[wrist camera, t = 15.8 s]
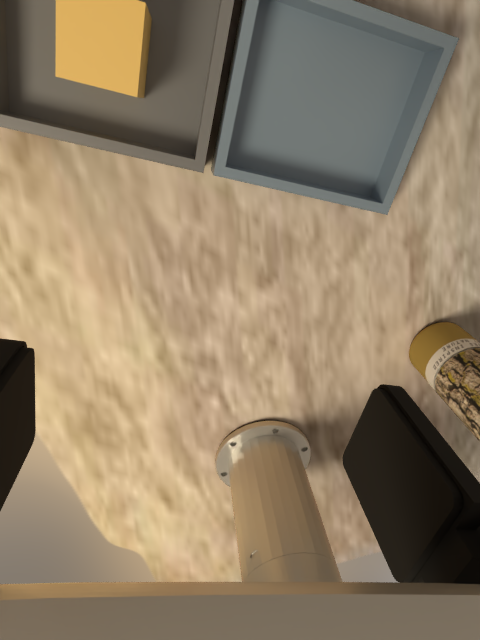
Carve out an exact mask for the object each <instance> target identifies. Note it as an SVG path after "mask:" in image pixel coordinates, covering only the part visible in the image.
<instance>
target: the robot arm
mask: <svg viewBox="0 0 480 640" xmlns="http://www.w3.org/2000/svg"><path fill="white" fill-rule="evenodd" d="M34 437H35V356H34V349H33V348H27V345H26V342H24V341H16V340H8V339H0V511H1V508H2V506H3V504H4V502H5V500H6V498H7V496H8V494H9V492H10V490H11V488H12V486H13V484H14V482H15V479H16V477H17V475H18V473H19V471H20V469H21V467H22V465H23V463H24V461H25V459H26V457H27V454H28V452H29V450H30V448H31V446H32V444H33V441H34ZM310 458H311V449H310V445H309V442H308V440H307V438H306V436H305V435H304V433H303V432H302V431H301V430H299V429H298V428H297V427H295V426H293V425H291V424H288V423H285V422H280V421H261V422H255V423H252V424H248V425H245V426H243V427H241V428H239V429H237V430H236V431H234V432H233V433H231V434H230V435H229V436H228V437H227V438H226V439H224V440H223V442H222V443H221V445H220V446H219V448H218V450H217V453H216V459H215V461H216V470H217V474H218V475H219V477H220V479H221V480H222V481H223V482H224V483H225V484H226V485H228V486H229V487H231V495H232V503H233V512H234V521H235V528H236V536H237V544H238V553H239V561H240V569H241V577H242V582H92V583H89V582H85V583H83V582H81V583H36V584H35V583H34V584H0V640H480V483H479V482H478V481H477V479H476V478H475V477H474V476H473V474H472V473H471V472H470V471H469V469H468V468H467V467H466V466H465V464H464V463H463V462H462V461H461V459H460V458H459V457H458V456H457V454H456V453H455V452H454V451H453V450H452V448H451V447H450V446H449V445H448V443H447V442H446V441H445V440H444V438H443V437H442V436H441V435H440V433H439V432H438V431H437V430H436V428H435V427H434V426H433V425H432V423H431V422H430V421H429V420H428V418H427V417H426V416H425V415H424V413H423V412H422V411H421V410H420V408H419V407H418V406H417V405H416V403H415V402H414V401H413V400H412V398H411V397H410V396H409V395H408V394H407V392H406V391H405V390H404V389H403V388H402V387H400V386H392V385H384V384H383V385H380V386H379V387H378V388H377V389H374V390H373V391H372V393H371V395H370V397H369V399H368V402H367V404H366V406H365V408H364V410H363V413H362V415H361V417H360V419H359V421H358V424H357V426H356V428H355V430H354V432H353V434H352V437H351V439H350V441H349V443H348V445H347V448H346V450H345V452H344V455H343V465H344V468H345V470H346V473H347V475H348V477H349V479H350V481H351V484H352V486H353V488H354V490H355V493H356V495H357V497H358V499H359V501H360V504H361V506H362V508H363V510H364V513H365V515H366V517H367V519H368V521H369V524H370V526H371V528H372V530H373V533H374V535H375V537H376V539H377V541H378V544H379V546H380V548H381V550H382V553H383V555H384V557H385V559H386V561H387V564H388V566H389V568H390V570H391V572H392V575H393V577H394V578H395V579H396V581H398V582H400V583H378V582H377V583H373V582H370V583H369V582H363V583H362V582H342V579H341V576H340V573H339V570H338V567H337V564H336V561H335V558H334V555H333V552H332V549H331V546H330V543H329V540H328V537H327V534H326V531H325V528H324V525H323V522H322V519H321V516H320V513H319V510H318V507H317V504H316V501H315V498H314V495H313V492H312V489H311V486H310V483H309V480H308V477H307V474H306V471H305V469H306V468H307V466H308V464H309V461H310Z"/></svg>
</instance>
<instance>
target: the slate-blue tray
mask: <svg viewBox="0 0 480 640" xmlns="http://www.w3.org/2000/svg"><path fill="white" fill-rule="evenodd" d="M458 40H459V38H457V37H454V36H451V35H448V34H445V33H443V32H440V31H437V30H434V29H431V28H429V27H426V26H423V25H420V24H418V23H415V22H412V21H409V20H406V19H404V18H401V17H398V16H395V15H393V14H390V13H387V12H384V11H381V10H379V9H376V8H373V7H370V6H367V5H365V4H362V3H359V2H356V1H354V0H243V1H242V7H241V12H240V17H239V23H238V28H237V33H236V39H235V44H234V49H233V55H232V60H231V65H230V71H229V76H228V81H227V87H226V92H225V98H224V103H223V108H222V114H221V119H220V124H219V130H218V135H217V140H216V146H215V151H214V156H213V162H212V167H211V171H212V173H213V175H215V176H219V177H224V178H228V179H232V180H237V181H241V182H245V183H250V184H254V185H259V186H263V187H267V188H272V189H276V190H281V191H285V192H289V193H294V194H298V195H303V196H307V197H311V198H316V199H320V200H325V201H329V202H333V203H338V204H342V205H346V206H351V207H355V208H360V209H364V210H368V211H373V212H377V213H382V214H386V215H387V214H388V212H389V209H390V207H391V204H392V202H393V199H394V197H395V194H396V192H397V189H398V187H399V185H400V182H401V180H402V177H403V175H404V172H405V170H406V167H407V165H408V162H409V160H410V158H411V155H412V153H413V150H414V148H415V145H416V143H417V140H418V138H419V135H420V133H421V131H422V128H423V126H424V123H425V121H426V118H427V116H428V113H429V111H430V108H431V106H432V103H433V101H434V99H435V96H436V94H437V91H438V89H439V86H440V84H441V81H442V79H443V76H444V74H445V72H446V69H447V67H448V64H449V62H450V59H451V57H452V54H453V52H454V49H455V47H456V45H457V42H458Z"/></svg>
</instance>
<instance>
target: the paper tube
mask: <svg viewBox="0 0 480 640" xmlns="http://www.w3.org/2000/svg"><path fill="white" fill-rule="evenodd" d="M409 358H410V361H411V363H412V364H413V366H414V367H415V368H416V369H417V370H418V371H419V373H420V374H421V375H422V376H423V377H424V378H425V379H426V380H427V382H428V383H429V384H430V385H431V387H432V388H433V389H434V390H435V391H436V392H437V393H438V395H439V396H440V397H441V398H442V399H443V400H444V401H445V403H446V404H447V405H448V406H449V407H450V408H451V409H452V410H453V412H454V413H455V414H456V415H457V416H458V417H459V418H460V420H461V421H462V422H463V423H464V424H465V425H466V426H467V428H468V429H469V430H470V431H471V432H472V433H473V434H474V436H475V437H476V438H477V439H478V440H479V441H480V342H478V341H477V340H476V339H475V338H473V337H472V336H471V335H470V334H468V333H467V332H466V331H465V330H463V329H462V328H461V327H460V326H458V325H456V324H454V323H450V322H441V323H436V324H433V325H430V326H428V327H426V328H425V329H423V330H422V331H421V332H420V333H418V334H417V336H416V337H415V338H414V340H413V341H412V343H411V346H410V350H409Z"/></svg>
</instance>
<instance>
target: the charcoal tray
mask: <svg viewBox="0 0 480 640" xmlns="http://www.w3.org/2000/svg"><path fill="white" fill-rule="evenodd" d="M139 1H142V2H145V3H146V5H147V7H148V10H149V13H150V15H151V18H152V22H151V33H150V43H149V53H148V64H147V74H146V84H145V94H144V98H139V97H134V96H130V95H126V94H122V93H119V92H115V91H111V90H107V89H103V88H99V87H95V86H91V85H87V84H83V83H79V82H75V81H71V80H68V79H64V78H60V77H56V76H55V68H56V0H0V127H4V128H8V129H13V130H17V131H22V132H26V133H30V134H35V135H39V136H44V137H48V138H52V139H57V140H61V141H65V142H70V143H74V144H79V145H83V146H87V147H92V148H96V149H101V150H105V151H109V152H114V153H118V154H123V155H127V156H131V157H136V158H140V159H145V160H149V161H153V162H158V163H162V164H166V165H171V166H175V167H180V168H184V169H188V170H193V171H197V172H202V173H203V172H204V167H205V161H206V155H207V150H208V144H209V139H210V133H211V127H212V122H213V116H214V111H215V105H216V100H217V94H218V88H219V83H220V77H221V72H222V66H223V60H224V55H225V49H226V44H227V38H228V32H229V27H230V21H231V16H232V10H233V4H234V0H139Z"/></svg>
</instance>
